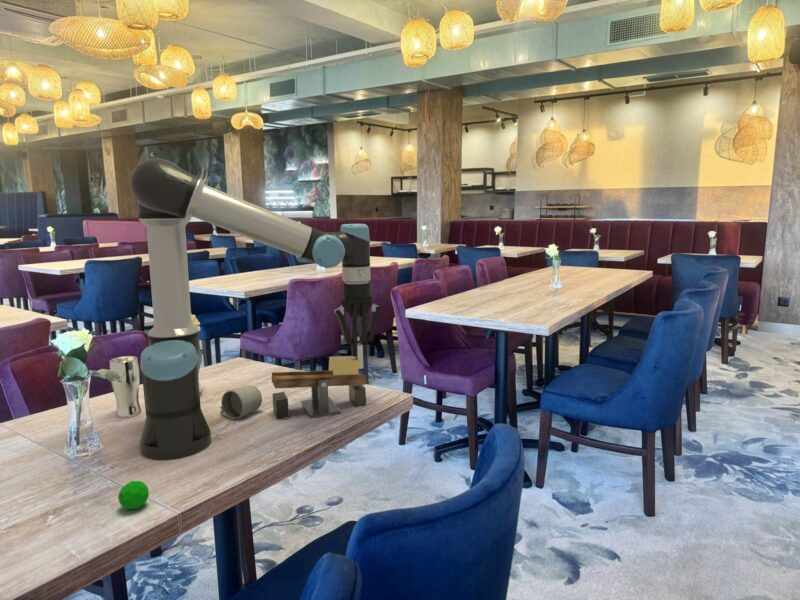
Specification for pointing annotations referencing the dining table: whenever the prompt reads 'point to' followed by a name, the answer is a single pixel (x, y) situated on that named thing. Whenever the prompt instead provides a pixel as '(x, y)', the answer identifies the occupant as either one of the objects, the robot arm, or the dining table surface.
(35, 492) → the dining table surface
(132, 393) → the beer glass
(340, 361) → the block
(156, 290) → the robot arm
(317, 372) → the beam
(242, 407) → the ceramic mug
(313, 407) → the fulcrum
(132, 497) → the polyhedron
